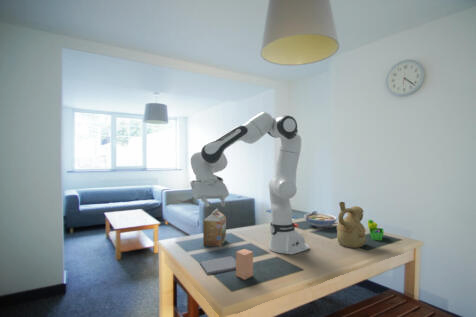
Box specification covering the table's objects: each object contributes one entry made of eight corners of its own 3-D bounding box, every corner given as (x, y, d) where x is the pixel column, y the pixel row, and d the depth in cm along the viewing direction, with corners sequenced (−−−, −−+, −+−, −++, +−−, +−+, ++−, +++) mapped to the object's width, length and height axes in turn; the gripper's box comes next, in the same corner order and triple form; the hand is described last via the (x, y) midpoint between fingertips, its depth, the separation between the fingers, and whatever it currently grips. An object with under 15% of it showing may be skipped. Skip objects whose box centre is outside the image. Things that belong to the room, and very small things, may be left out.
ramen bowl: (332, 233, 163) (332, 221, 163) (299, 228, 176) (299, 216, 176) (340, 225, 184) (340, 214, 184) (309, 220, 197) (309, 210, 197)
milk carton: (221, 246, 139) (221, 212, 139) (203, 245, 141) (203, 211, 141) (226, 240, 149) (226, 208, 149) (209, 239, 152) (209, 208, 152)
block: (244, 271, 108) (244, 248, 108) (252, 275, 104) (252, 251, 104) (236, 275, 104) (236, 251, 104) (244, 279, 101) (244, 255, 101)
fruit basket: (384, 241, 147) (384, 222, 147) (367, 239, 152) (367, 221, 152) (383, 236, 157) (383, 218, 157) (367, 234, 162) (367, 217, 162)
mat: (231, 258, 122) (231, 256, 122) (241, 268, 112) (241, 265, 112) (199, 263, 116) (199, 261, 116) (207, 274, 105) (207, 272, 105)
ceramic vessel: (374, 245, 141) (374, 201, 141) (352, 252, 131) (352, 204, 131) (347, 237, 155) (347, 197, 155) (326, 242, 145) (326, 200, 145)
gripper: (192, 176, 113) (202, 202, 106) (225, 178, 128) (235, 201, 121) (185, 184, 116) (194, 210, 110) (217, 185, 131) (227, 208, 124)
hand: (216, 205), depth 116 cm, fingers open, 8 cm apart
